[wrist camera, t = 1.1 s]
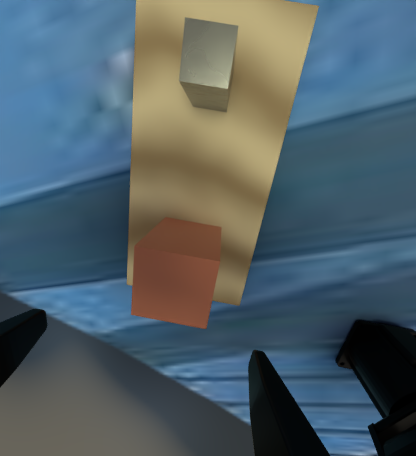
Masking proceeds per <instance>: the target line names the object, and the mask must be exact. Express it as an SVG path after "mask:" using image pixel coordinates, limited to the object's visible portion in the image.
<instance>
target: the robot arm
mask: <svg viewBox="0 0 416 456" xmlns="http://www.w3.org/2000/svg"><path fill="white" fill-rule="evenodd" d="M46 328H47V317H46V312H45V311H44V310H41V309H32V310H29V311H27V312H24V313H22V314H19V315H17V316H15V317H12V318H10V319H7V320H5V321H3V322H0V387H1V386H2V385H3V384H4V382H5V381H6V380H7V379H8V378H9V377H10V376H11V375H12V373H13V372H14V371H15V370H16V369H17V367H18V366H19V365H20V364H21V362H22V361H23V360H24V358H25V357H26V356H27V354H28V353H29V352H30V350H31V349H32V348H33V346H34V345H35V344H36V342H37V341H38V340H39V338H40V337H41V336H42V334H43V333H44V332H45V330H46ZM336 363H337V365H338V366H339V367H343V368H349V369H352V370H353V371H354V373H355V374H356V376H357V378H358V379H359V381H360V382H361V384H362V386H363V387H364V389H365V391H366V392H367V394H368V395H369V397H370V399H371V400H372V402H373V403H374V405H375V407H376V408H377V410H378V411H379V413H380V415H381V416H382V418H383V419H382V420H380V421H378V422H377V423H375V424H373V423H372V424H371V425H369V426H368V429H369V432H370V434H371V437H372V440H373V442H374V445H375V448H376V451H377V453H378V456H416V331H414V330H409V329H405V328H400V327H395V326H389V325H384V324H378V323H372V322H367V321H362V320H359V321H357V322H356V323H355V324H354V326H353V328H352V330H351V332H350V334H349V336H348V338H347V340H346V341H345V343H344V345H343V347H342V349H341V351H340V353H339V355H338V357H337V359H336ZM248 373H249V404H250V420H251V429H252V436H253V445H254V453H255V456H330V454H329V453H328V451H327V450H326V448H325V447H324V445H323V443H322V442H321V440H320V439H319V437H318V436H317V434H316V432H315V431H314V429H313V428H312V426H311V425H310V423H309V422H308V420H307V418H306V417H305V415H304V414H303V412H302V411H301V409H300V408H299V406H298V404H297V403H296V401H295V400H294V398H293V397H292V395H291V393H290V392H289V390H288V389H287V387H286V386H285V384H284V383H283V381H282V379H281V378H280V376H279V375H278V373H277V372H276V370H275V368H274V367H273V365H272V364H271V362H270V361H269V359H268V358H267V356H266V354H265V353H264V352H263V351H259V350H253V352H252V355H251V358H250V362H249V367H248Z"/></svg>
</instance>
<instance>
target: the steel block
mask: <svg viewBox="0 0 416 456" xmlns="http://www.w3.org/2000/svg"><path fill="white" fill-rule="evenodd" d="M237 35H238V26H237V25H231V24H225V23H218V22H212V21H206V20H199V19H193V18H187V17H185V23H184V33H183V43H182V54H181V64H180V74H179V82H180V84H181V86H182V88H183V89H184V91H185V93H186V95H187V97H188V98H189V100H190V102H191V104H192V106H193V107H197V108H203V109H209V110H215V111H221V112H227V108H228V102H229V96H230V90H231V84H232V78H233V73H234V64H235V54H236V45H237Z"/></svg>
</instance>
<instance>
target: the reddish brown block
mask: <svg viewBox="0 0 416 456" xmlns="http://www.w3.org/2000/svg"><path fill="white" fill-rule="evenodd" d="M220 253H221V227H218V226H213V225H207V224H201V223H196V222H190V221H185V220H179V219H174V218H168V217H165V218H164V219H163V220H162V221H161V222H160V223H159V224H157V225H156V226H155V227H154V228H153V229H152V230H151V231H150V232H149V233H148V234H147V235H146V236H144V237H143V238H142V239H141V240H140V241H139V242H138V243H137V244H136V245H135V246H134V264H133V287H132V309H131V315H135V316H141V317H146V318H151V319H156V320H161V321H167V322H172V323H177V324H182V325H187V326H193V327H198V328H203V329H206V328H207V323H208V318H209V313H210V308H211V303H212V299H213V294H214V289H215V284H216V279H217V275H218V270H219V265H220Z"/></svg>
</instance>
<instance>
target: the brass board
mask: <svg viewBox="0 0 416 456" xmlns="http://www.w3.org/2000/svg"><path fill="white" fill-rule="evenodd" d="M318 8H319V6H316V5H309V4H303V3H297V2H290V1H284V0H136V26H135V56H134V86H133V116H132V146H131V176H130V206H129V236H128V266H127V285H132V286H133V264H134V246H135V245H136V244H137V243H138V242H139V241H140V240H141V239H142V238H143V237H144V236H146V235H147V234H148V233H149V232H150V231H151V230H152V229H153V228H154V227H155V226H156V225H157V224H159V223H160V222H161V221H162V220H163V219H164V218H165V217H168V218H174V219H179V220H185V221H190V222H196V223H201V224H207V225H213V226H218V227H221V253H220V265H219V270H218V275H217V279H216V284H215V289H214V294H213V299H212V301H217V302H222V303H228V304H233V305H238V306H239V305H240V302H241V298H242V294H243V290H244V287H245V283H246V279H247V275H248V271H249V268H250V264H251V260H252V256H253V253H254V249H255V245H256V241H257V238H258V234H259V230H260V226H261V222H262V219H263V215H264V211H265V207H266V204H267V200H268V196H269V192H270V189H271V185H272V181H273V177H274V173H275V170H276V166H277V162H278V158H279V155H280V151H281V147H282V143H283V140H284V136H285V132H286V128H287V124H288V121H289V117H290V113H291V109H292V106H293V102H294V98H295V94H296V91H297V87H298V83H299V79H300V75H301V72H302V68H303V64H304V60H305V57H306V53H307V49H308V45H309V42H310V38H311V34H312V30H313V26H314V23H315V19H316V15H317V11H318ZM185 17H187V18H193V19H199V20H206V21H212V22H218V23H225V24H231V25H237V26H238V35H237V45H236V54H235V64H234V73H233V78H232V84H231V90H230V96H229V102H228V108H227V112H221V111H215V110H209V109H203V108H197V107H193V106H192V104H191V102H190V100H189V98H188V97H187V95H186V93H185V91H184V89H183V88H182V86H181V84H180V82H179V74H180V64H181V54H182V43H183V33H184V23H185Z"/></svg>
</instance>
